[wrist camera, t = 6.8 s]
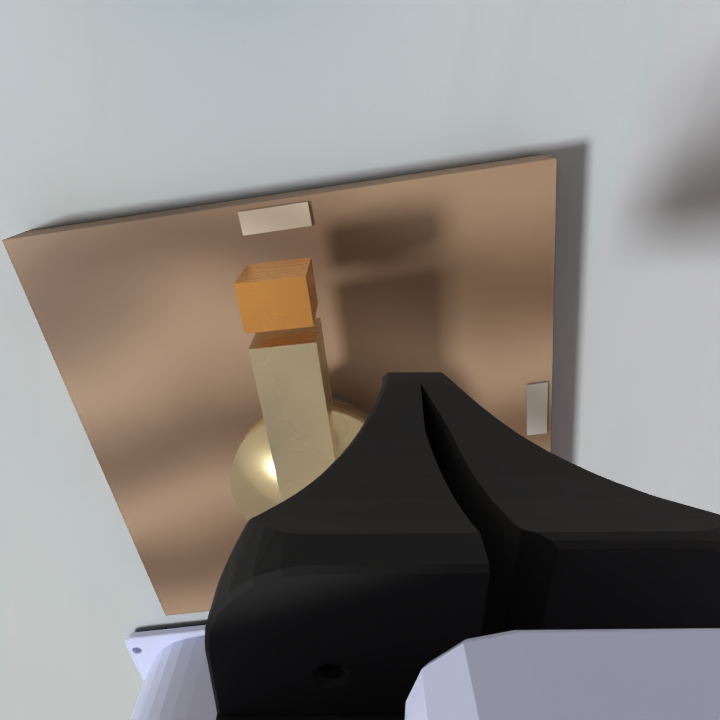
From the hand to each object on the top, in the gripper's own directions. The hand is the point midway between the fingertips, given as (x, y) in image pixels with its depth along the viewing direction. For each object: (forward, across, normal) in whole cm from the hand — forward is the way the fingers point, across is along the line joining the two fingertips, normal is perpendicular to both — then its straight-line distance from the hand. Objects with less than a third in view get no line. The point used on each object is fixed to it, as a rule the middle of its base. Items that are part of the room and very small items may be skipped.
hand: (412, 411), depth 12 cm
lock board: (+10, +3, +6) cm, 12 cm away
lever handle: (+6, +3, +4) cm, 8 cm away
